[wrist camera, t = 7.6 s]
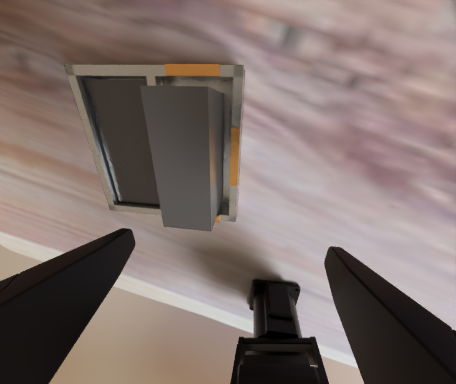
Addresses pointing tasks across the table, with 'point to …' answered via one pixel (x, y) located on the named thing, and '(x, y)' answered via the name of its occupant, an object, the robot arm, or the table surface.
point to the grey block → (186, 152)
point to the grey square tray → (137, 129)
